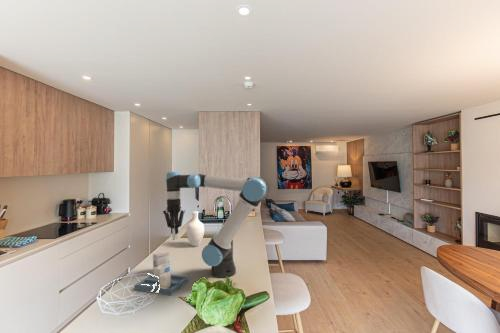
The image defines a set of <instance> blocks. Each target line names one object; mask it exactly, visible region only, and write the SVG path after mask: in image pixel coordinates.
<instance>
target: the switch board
mask: <svg viewBox="0 0 500 333" xmlns="http://www.w3.org/2000/svg"><path fill="white" fill-rule="evenodd" d="M152 274H153V275H154V273H152ZM152 274H150V275H149V276H147V277H145V278H144V279H142V280H140V282H139V281H138V282H137V283H136V284H135V285H133V287H134V288H133V289H134V291H138V292H139V291H141V292H146V291H151V290H152V289H153V286H152V285H153V284H155V283H156V282H157V286H155V289H154V291H153V292H154V293H153V292H152V293H153V294H156V293H155V292H156V291H157V290H158V288H159V286H158V285H159V282H158V280H159V279H158V278H154V277H152V276H151V275H152ZM170 274H171V273H170ZM188 277H189V276H188ZM188 277H187V275H179V274H171V286H170V287H168V288H167V287H160V290H159V293H158V294H159V295H160V294H161V295H167V296H172V295H173V294H175V293H176V292H177V291H178V290H180V288H182V287H183V286H184V285H185V284H187V283H188V282H189V281H188V280H189V278H188ZM141 284H149V285H150V286H147V285H141Z"/></svg>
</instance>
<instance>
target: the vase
mask: <svg viewBox="0 0 500 333" xmlns="http://www.w3.org/2000/svg"><path fill="white" fill-rule="evenodd" d="M191 214H192V220H191V221H190V222H188V223H187V225H186V230H185V231H186V232H185V233H186V236H187V239H188V242H189V243H190V245H191V246H192V247H198V246H200V245H201V242H202V240H203V237H204V235H205V225H204V223H203V222H202V221H200V219H199V211H197V210H195V211H194V210H193V211H192V212H191Z"/></svg>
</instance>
